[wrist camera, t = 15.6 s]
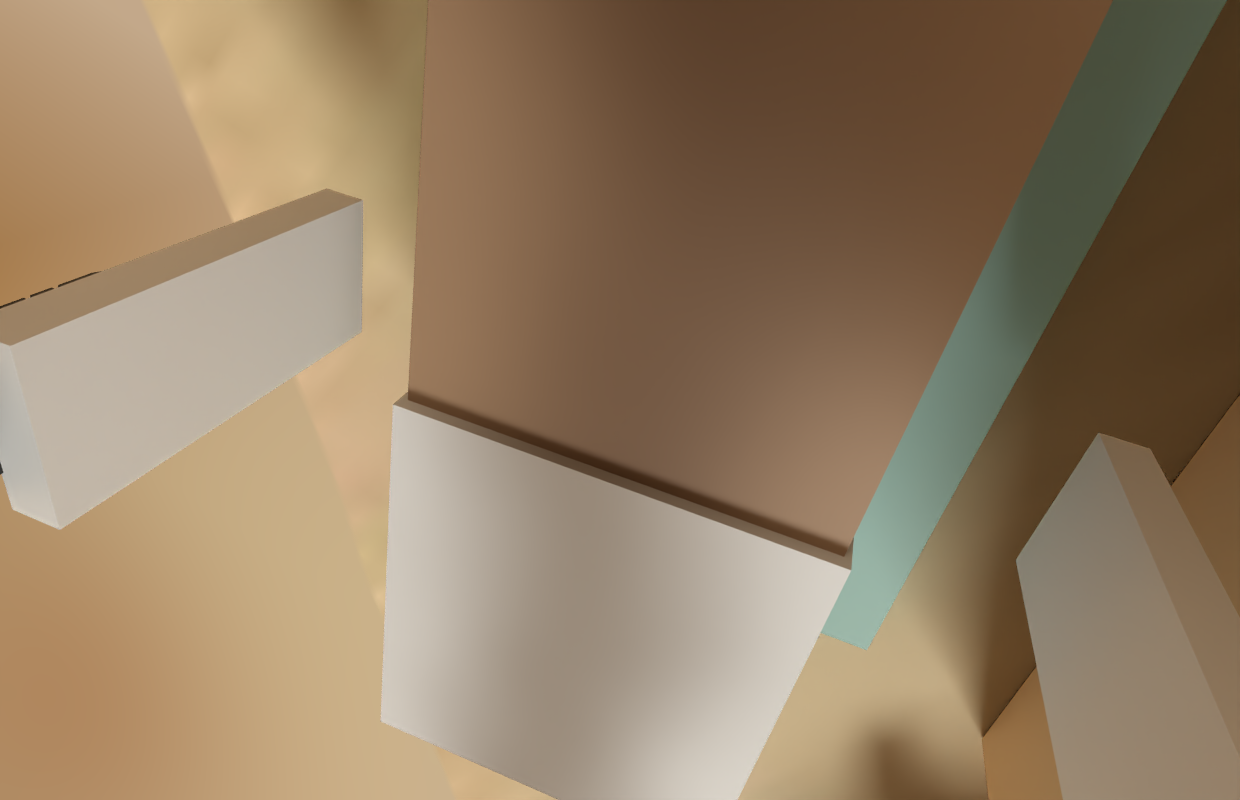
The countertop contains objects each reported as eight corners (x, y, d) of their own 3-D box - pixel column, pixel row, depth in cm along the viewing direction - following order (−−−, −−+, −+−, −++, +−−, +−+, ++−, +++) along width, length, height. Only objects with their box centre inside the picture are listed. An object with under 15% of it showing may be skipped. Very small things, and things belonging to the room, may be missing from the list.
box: (1199, -454, 9) (1747, -1234, 3) (766, 581, 19) (705, 864, 13) (713, -516, 10) (455, -1202, 4) (537, 495, 20) (380, 721, 14)
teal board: (1474, -505, 9) (1533, -551, 8) (868, 621, 20) (866, 650, 19) (551, -607, 11) (523, -654, 10) (451, 467, 22) (434, 486, 21)
